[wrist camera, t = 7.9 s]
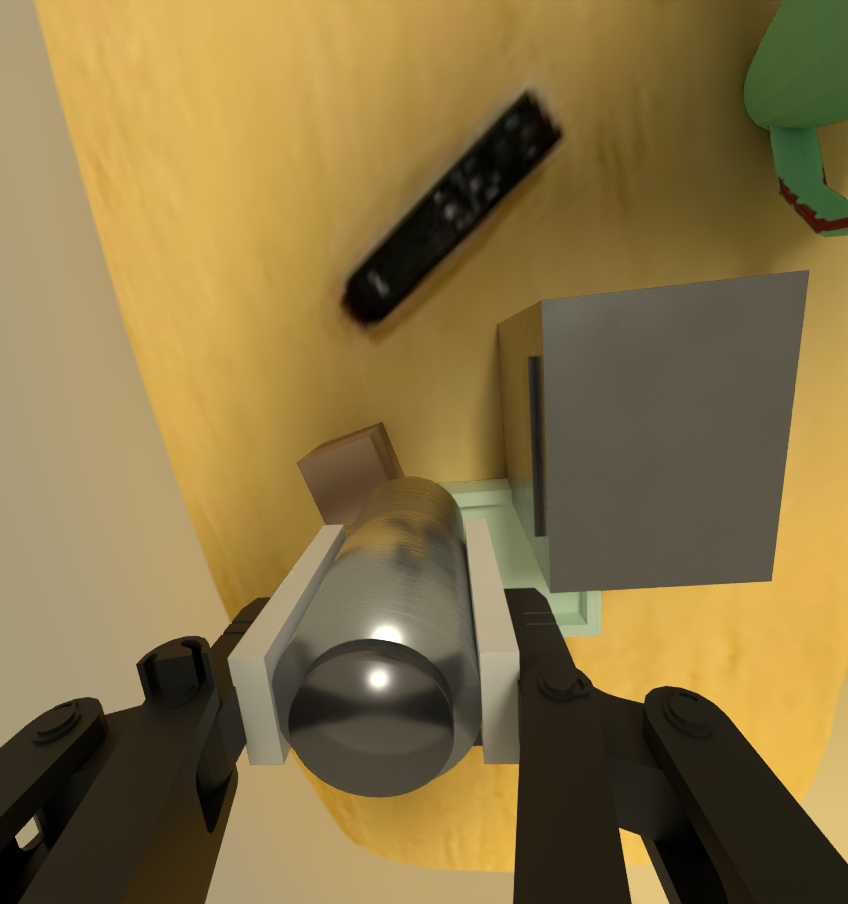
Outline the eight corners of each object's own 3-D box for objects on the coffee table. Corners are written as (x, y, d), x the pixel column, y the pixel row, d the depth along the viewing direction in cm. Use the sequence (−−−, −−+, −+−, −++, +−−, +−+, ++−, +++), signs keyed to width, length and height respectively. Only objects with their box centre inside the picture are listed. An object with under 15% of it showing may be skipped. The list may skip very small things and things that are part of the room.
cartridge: (355, 479, 17) (239, 635, 7) (461, 474, 16) (482, 629, 7) (365, 574, 18) (275, 818, 8) (465, 571, 17) (489, 820, 8)
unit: (493, 324, 27) (533, 301, 14) (644, 307, 26) (826, 268, 14) (502, 491, 30) (543, 593, 17) (639, 480, 29) (785, 580, 16)
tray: (426, 484, 30) (424, 496, 28) (589, 471, 29) (602, 482, 27) (440, 621, 33) (440, 642, 30) (589, 613, 32) (601, 635, 30)
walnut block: (321, 444, 30) (296, 462, 25) (382, 421, 29) (369, 435, 24) (347, 503, 31) (328, 531, 26) (407, 482, 30) (399, 507, 25)
